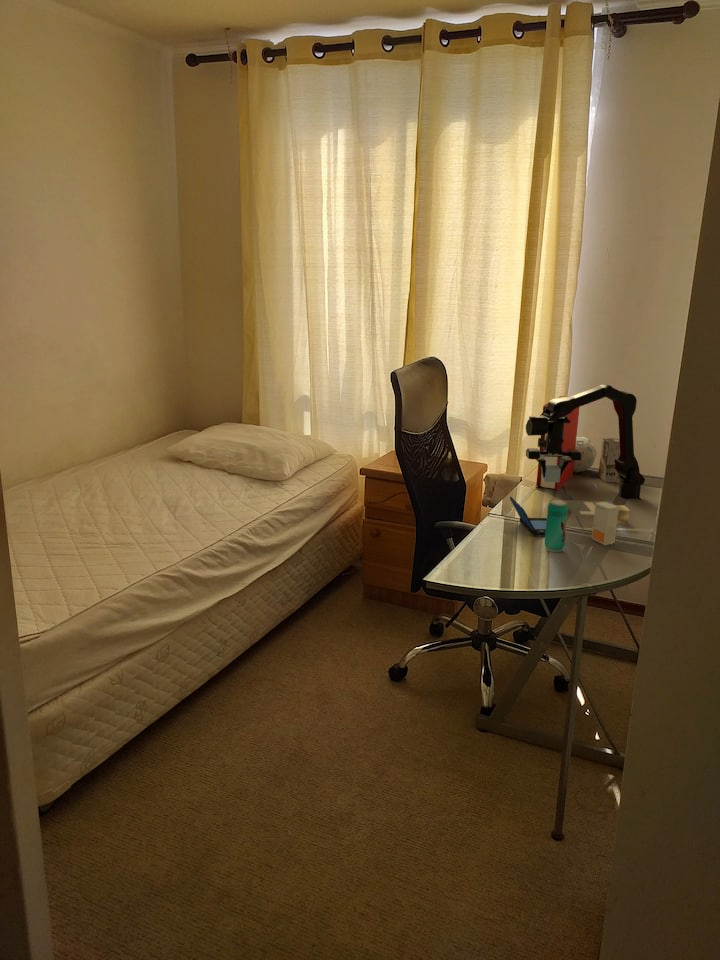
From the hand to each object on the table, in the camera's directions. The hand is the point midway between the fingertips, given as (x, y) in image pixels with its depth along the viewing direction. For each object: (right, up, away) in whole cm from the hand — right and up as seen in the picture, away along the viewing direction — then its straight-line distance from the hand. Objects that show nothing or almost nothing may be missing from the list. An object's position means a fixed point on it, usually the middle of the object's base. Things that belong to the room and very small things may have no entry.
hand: (551, 477), depth 268 cm
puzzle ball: (+21, +3, +43) cm, 48 cm away
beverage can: (-11, -22, -46) cm, 52 cm away
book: (+9, -1, +28) cm, 30 cm away
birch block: (+16, -15, -21) cm, 31 cm away
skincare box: (+6, -20, -38) cm, 44 cm away
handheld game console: (-13, -17, -27) cm, 35 cm away
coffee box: (+32, -1, +32) cm, 45 cm away
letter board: (+13, -11, -7) cm, 19 cm away
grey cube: (0, -1, 0) cm, 1 cm away
